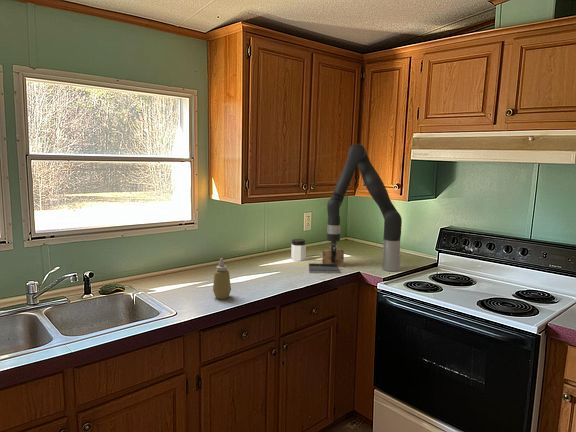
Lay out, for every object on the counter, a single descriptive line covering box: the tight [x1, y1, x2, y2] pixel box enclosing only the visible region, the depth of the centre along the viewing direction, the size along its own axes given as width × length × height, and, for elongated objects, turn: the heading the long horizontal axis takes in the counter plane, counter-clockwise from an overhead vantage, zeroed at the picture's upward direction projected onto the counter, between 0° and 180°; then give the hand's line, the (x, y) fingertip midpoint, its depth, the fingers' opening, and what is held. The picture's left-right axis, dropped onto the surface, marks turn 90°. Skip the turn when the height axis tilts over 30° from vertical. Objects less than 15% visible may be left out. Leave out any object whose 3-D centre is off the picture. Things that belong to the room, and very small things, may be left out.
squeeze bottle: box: [212, 257, 232, 300], centre depth 191 cm, size 8×8×18 cm
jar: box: [290, 238, 307, 262], centre depth 260 cm, size 9×8×12 cm
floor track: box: [308, 262, 340, 274], centre depth 236 cm, size 16×9×3 cm, turn 88°
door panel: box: [321, 249, 345, 268], centre depth 246 cm, size 12×3×9 cm, turn 88°
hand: (332, 261), depth 246 cm, fingers closed on door panel, 3 cm apart
